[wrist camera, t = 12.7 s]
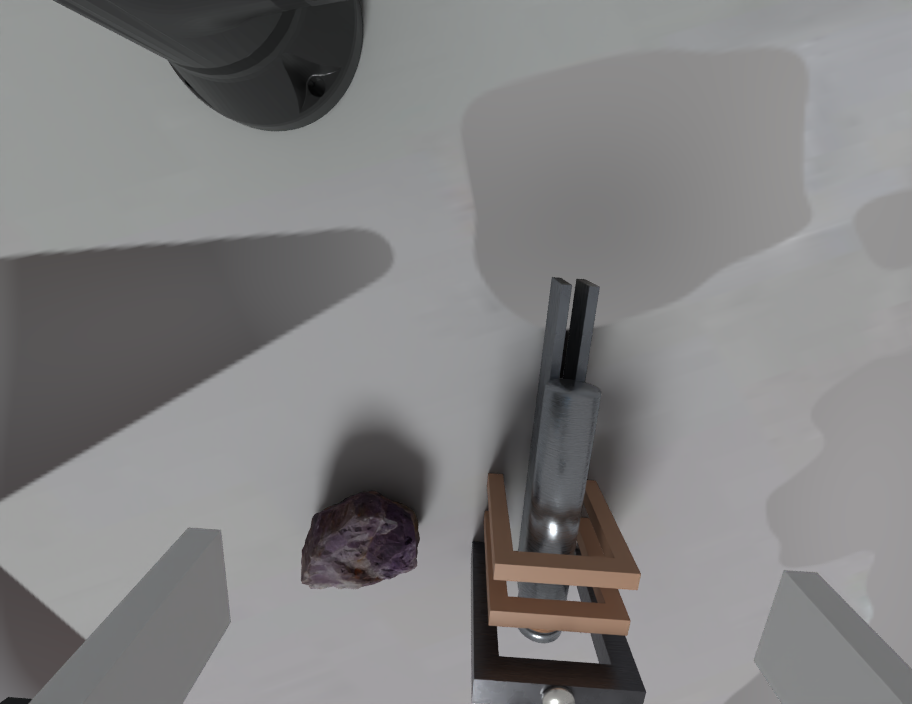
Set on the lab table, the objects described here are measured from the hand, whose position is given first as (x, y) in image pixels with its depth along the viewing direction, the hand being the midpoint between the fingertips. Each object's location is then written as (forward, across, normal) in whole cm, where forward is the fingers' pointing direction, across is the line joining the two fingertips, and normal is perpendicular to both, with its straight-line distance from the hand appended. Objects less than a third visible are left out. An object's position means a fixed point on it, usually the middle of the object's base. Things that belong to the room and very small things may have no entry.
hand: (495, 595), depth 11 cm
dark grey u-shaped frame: (+32, +8, -26) cm, 42 cm away
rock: (+32, -10, -22) cm, 40 cm away
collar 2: (+32, +8, -22) cm, 39 cm away
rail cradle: (+32, +8, -12) cm, 35 cm away
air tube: (+27, +8, -16) cm, 33 cm away
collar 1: (+32, +8, -17) cm, 37 cm away
